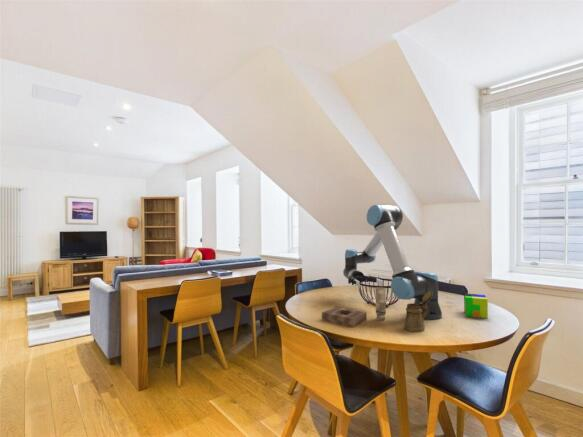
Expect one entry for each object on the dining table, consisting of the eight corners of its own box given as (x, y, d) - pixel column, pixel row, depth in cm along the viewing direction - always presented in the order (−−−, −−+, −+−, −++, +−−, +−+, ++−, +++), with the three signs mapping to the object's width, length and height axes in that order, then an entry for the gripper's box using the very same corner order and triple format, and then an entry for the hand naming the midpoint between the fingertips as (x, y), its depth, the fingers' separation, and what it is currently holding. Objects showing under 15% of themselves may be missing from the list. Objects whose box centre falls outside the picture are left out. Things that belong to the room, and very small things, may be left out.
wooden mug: (437, 331, 144) (437, 292, 145) (408, 332, 144) (407, 292, 144) (428, 325, 153) (428, 288, 153) (401, 325, 153) (400, 288, 153)
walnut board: (366, 320, 162) (366, 312, 162) (353, 327, 151) (352, 318, 151) (336, 313, 173) (336, 306, 174) (321, 319, 163) (321, 312, 163)
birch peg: (387, 319, 163) (387, 288, 164) (383, 321, 160) (383, 289, 160) (378, 317, 167) (378, 286, 167) (374, 319, 163) (373, 288, 163)
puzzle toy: (485, 313, 173) (484, 295, 173) (487, 318, 164) (487, 299, 164) (464, 311, 177) (464, 293, 177) (465, 316, 168) (465, 297, 168)
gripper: (375, 281, 198) (391, 289, 177) (337, 283, 194) (349, 291, 173) (375, 269, 198) (391, 276, 177) (337, 270, 194) (349, 277, 173)
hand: (370, 283), depth 175 cm, fingers open, 13 cm apart
